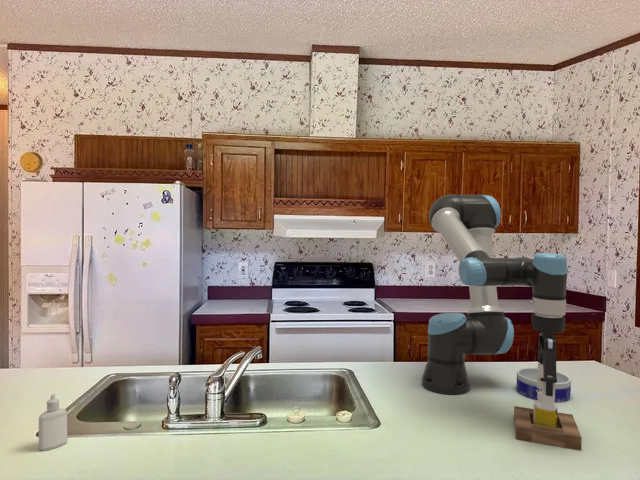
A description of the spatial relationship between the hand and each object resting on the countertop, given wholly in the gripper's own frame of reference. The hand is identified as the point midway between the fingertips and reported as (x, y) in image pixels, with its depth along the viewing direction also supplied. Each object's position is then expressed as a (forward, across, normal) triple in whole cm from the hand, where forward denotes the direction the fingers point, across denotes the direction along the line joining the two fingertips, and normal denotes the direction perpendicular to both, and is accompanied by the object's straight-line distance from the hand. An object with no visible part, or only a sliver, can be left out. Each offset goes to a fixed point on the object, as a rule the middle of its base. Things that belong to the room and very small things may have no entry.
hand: (545, 397), depth 114 cm
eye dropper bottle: (+9, +53, -107) cm, 120 cm away
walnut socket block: (+9, 0, 0) cm, 9 cm away
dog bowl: (+10, -30, +2) cm, 31 cm away
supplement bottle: (+9, 0, 0) cm, 9 cm away
